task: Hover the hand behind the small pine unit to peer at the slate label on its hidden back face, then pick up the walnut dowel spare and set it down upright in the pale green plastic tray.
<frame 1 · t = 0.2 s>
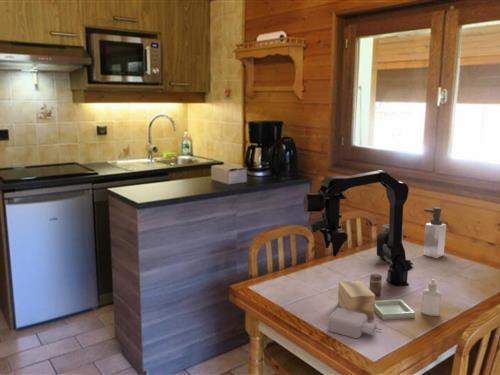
hand: (330, 252, 170), 14 cm above the table, fingers open, 9 cm apart
green tray: (391, 311, 153), on the table
eye dropper bottle: (430, 314, 152), on the table
milk frother: (396, 262, 200), on the table
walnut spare: (374, 294, 167), on the table
soap dispenser: (430, 254, 210), on the table
grey plastic bottle: (356, 332, 140), on the table
pine unit: (355, 310, 154), on the table
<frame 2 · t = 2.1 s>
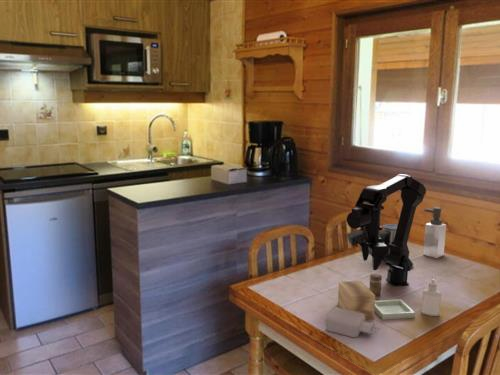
hand: (369, 265, 164), 11 cm above the table, fingers open, 9 cm apart
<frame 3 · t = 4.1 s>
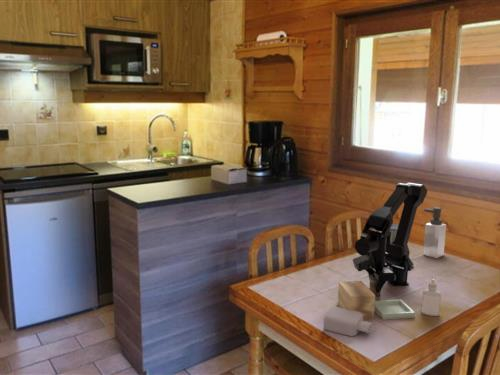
hand: (375, 290, 167), 2 cm above the table, fingers closed on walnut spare, 4 cm apart
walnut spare: (374, 294, 167), on the table, touching gripper
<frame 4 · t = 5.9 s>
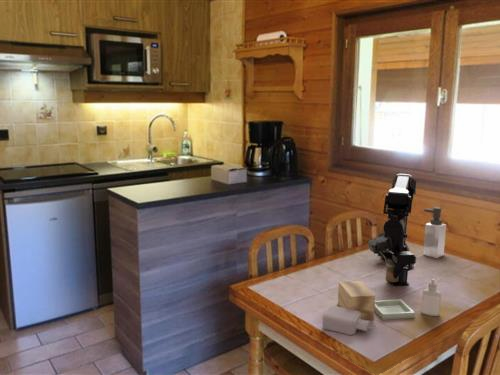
hand: (392, 275, 152), 12 cm above the table, fingers closed on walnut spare, 4 cm apart
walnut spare: (391, 279, 152), point 11 cm above the table, touching gripper
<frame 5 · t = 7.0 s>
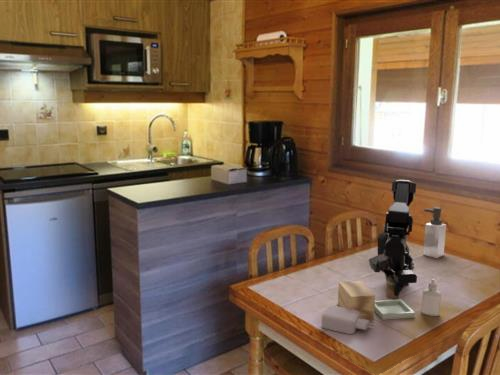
hand: (393, 292, 152), 7 cm above the table, fingers closed on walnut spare, 4 cm apart
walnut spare: (392, 297, 153), point 5 cm above the table, touching gripper
when the fingers open (3 cm above the table, at t = 8.0 s): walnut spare stays where it is, resting on green tray.
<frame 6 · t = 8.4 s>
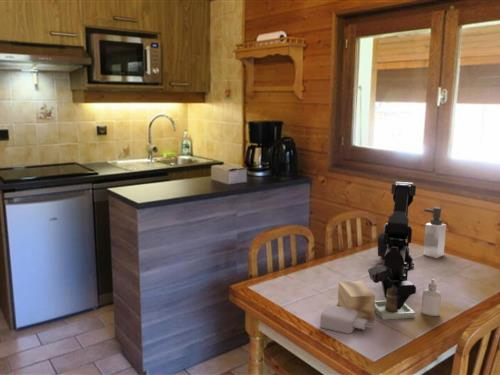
hand: (392, 303, 153), 3 cm above the table, fingers open, 9 cm apart
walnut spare: (391, 310, 153), point 1 cm above the table, touching green tray
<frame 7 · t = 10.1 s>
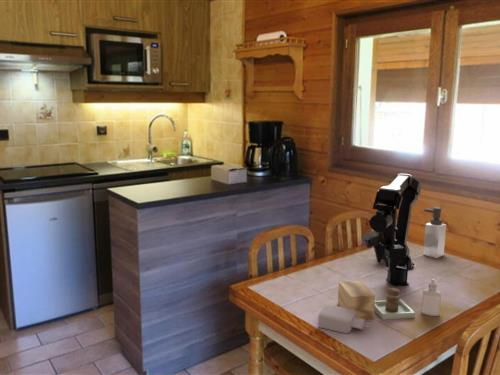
hand: (384, 267, 160), 12 cm above the table, fingers open, 9 cm apart
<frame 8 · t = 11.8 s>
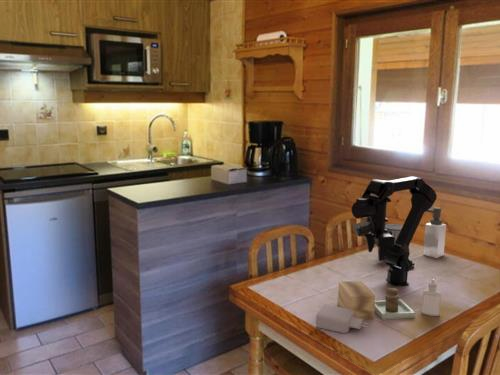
hand: (375, 256, 169), 13 cm above the table, fingers open, 9 cm apart
at the end: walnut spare inside the target area on the green tray (0.1 cm from its centre), point 0.6 cm above the green tray's base; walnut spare tilted 2°; the gripper is holding nothing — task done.
